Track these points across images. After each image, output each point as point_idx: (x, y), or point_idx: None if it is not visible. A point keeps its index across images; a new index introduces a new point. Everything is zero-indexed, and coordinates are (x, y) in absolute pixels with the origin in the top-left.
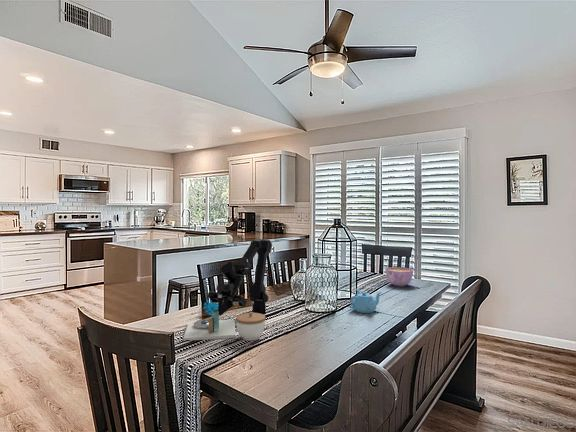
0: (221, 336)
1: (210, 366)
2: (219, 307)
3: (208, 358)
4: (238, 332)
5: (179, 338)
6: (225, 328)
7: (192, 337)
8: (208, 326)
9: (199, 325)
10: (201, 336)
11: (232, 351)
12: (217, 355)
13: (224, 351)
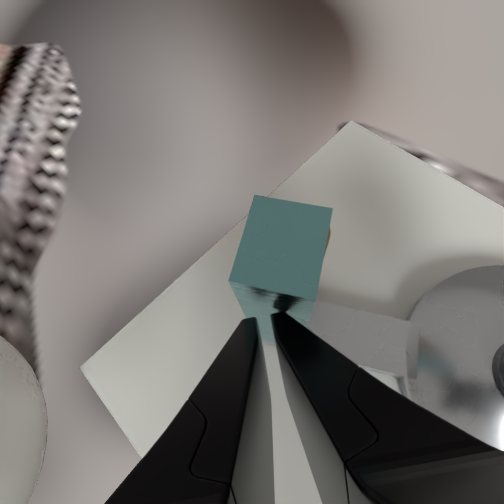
0: (171, 286)
1: (22, 71)
2: (315, 372)
3: (70, 99)
4: (5, 340)
5: (405, 141)
6: (273, 450)
7: (315, 154)
8: (390, 321)
9: (483, 288)
10: (283, 195)
11: (2, 199)
12: (50, 134)
13: (42, 177)
